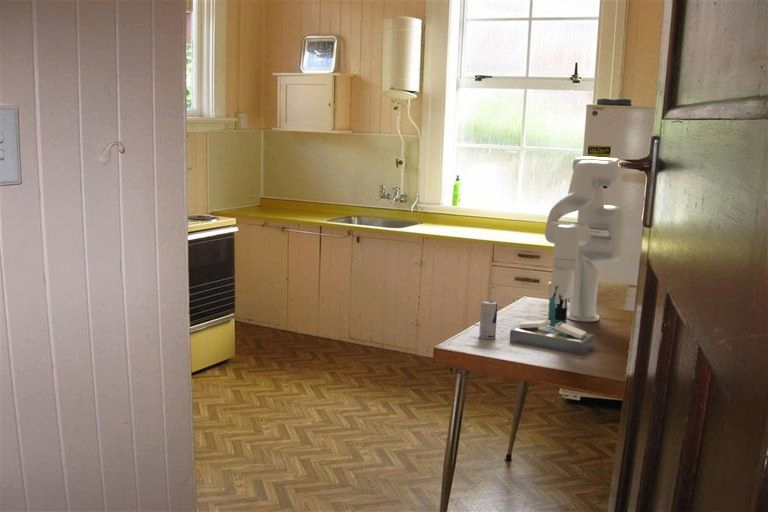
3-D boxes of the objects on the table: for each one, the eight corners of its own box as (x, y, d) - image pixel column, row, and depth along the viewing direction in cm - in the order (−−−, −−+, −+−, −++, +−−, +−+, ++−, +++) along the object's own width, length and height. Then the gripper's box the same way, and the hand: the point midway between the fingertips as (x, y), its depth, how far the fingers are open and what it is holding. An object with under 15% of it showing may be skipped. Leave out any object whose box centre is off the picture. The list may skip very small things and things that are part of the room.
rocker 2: (559, 325, 258) (560, 321, 258) (585, 335, 254) (586, 331, 254) (554, 328, 254) (555, 324, 254) (580, 338, 250) (581, 335, 250)
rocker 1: (525, 324, 265) (524, 321, 265) (550, 323, 260) (550, 320, 260) (519, 327, 260) (519, 324, 260) (545, 326, 256) (544, 323, 256)
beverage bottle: (566, 332, 273) (570, 275, 269) (546, 330, 274) (550, 274, 271) (565, 327, 279) (570, 272, 276) (546, 326, 280) (550, 270, 277)
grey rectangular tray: (523, 333, 269) (524, 319, 268) (592, 346, 257) (594, 331, 256) (509, 341, 259) (510, 327, 258) (581, 355, 247) (582, 340, 246)
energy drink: (497, 336, 264) (500, 301, 262) (491, 340, 260) (493, 304, 258) (483, 334, 267) (485, 299, 265) (476, 337, 262) (478, 302, 260)
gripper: (561, 259, 260) (557, 313, 263) (545, 265, 248) (541, 322, 251) (583, 262, 256) (579, 317, 259) (568, 268, 244) (563, 326, 247)
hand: (560, 319), depth 255 cm, fingers closed
